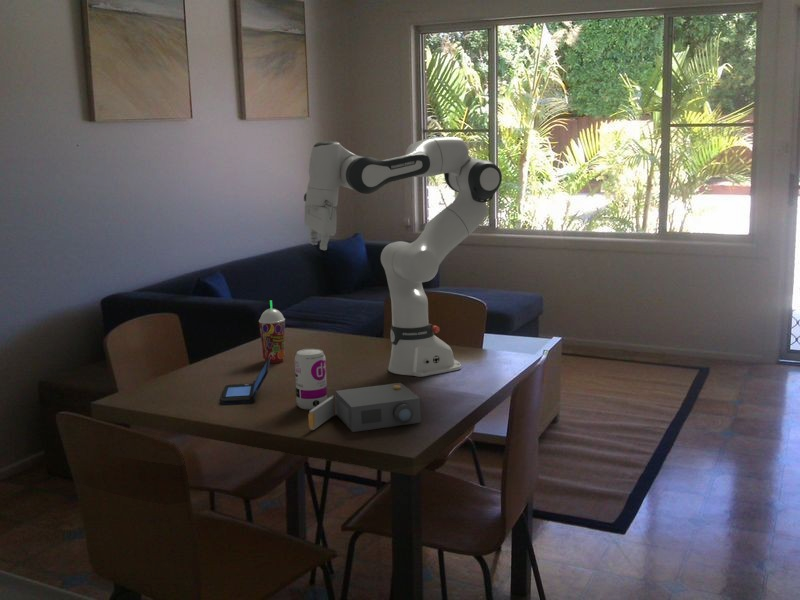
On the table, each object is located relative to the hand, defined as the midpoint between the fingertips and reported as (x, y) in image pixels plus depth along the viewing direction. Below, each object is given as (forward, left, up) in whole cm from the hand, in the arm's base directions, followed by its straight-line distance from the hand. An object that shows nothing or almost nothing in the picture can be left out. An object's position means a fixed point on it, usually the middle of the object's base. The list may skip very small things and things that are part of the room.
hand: (318, 247), depth 257 cm
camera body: (-4, +39, -40) cm, 56 cm away
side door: (+10, +35, -40) cm, 54 cm away
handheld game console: (+23, +3, -41) cm, 47 cm away
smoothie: (+9, -31, -41) cm, 52 cm away
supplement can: (+9, +20, -41) cm, 46 cm away
